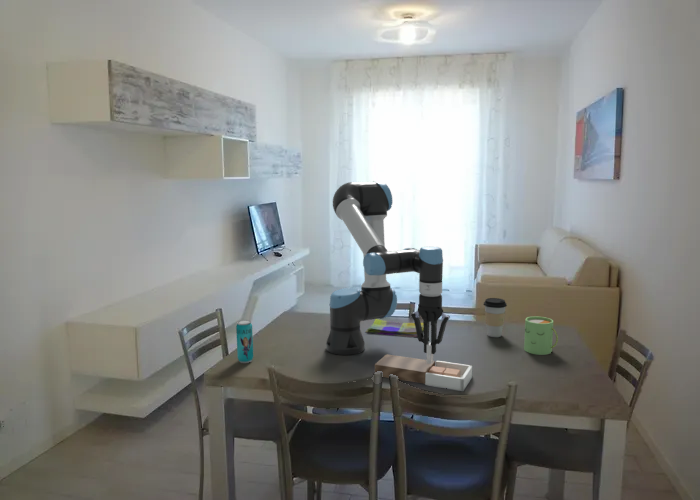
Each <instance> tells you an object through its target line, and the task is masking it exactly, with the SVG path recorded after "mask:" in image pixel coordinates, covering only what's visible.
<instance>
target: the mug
mask: <svg viewBox="0 0 700 500" xmlns="http://www.w3.org/2000/svg"><path fill="white" fill-rule="evenodd" d="M554 334H555V343H554V344H553V335H554ZM558 342H559V336H558V332H557V331H556V329H555V328H554V320H553V319H552V318H549V317H545V316H537V315H536V316H534V315H533V316H527V317H526V318H525V321H524V342H523V343H524V345H523V350H524V351H525V352H527V353H529V354H532V355H540V356H541V355H542V356H543V355H545V356H546V355H549V354H550V355H551V354H552V353H551V352H553V348H555V347H556V346H557V345H558Z"/></svg>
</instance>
